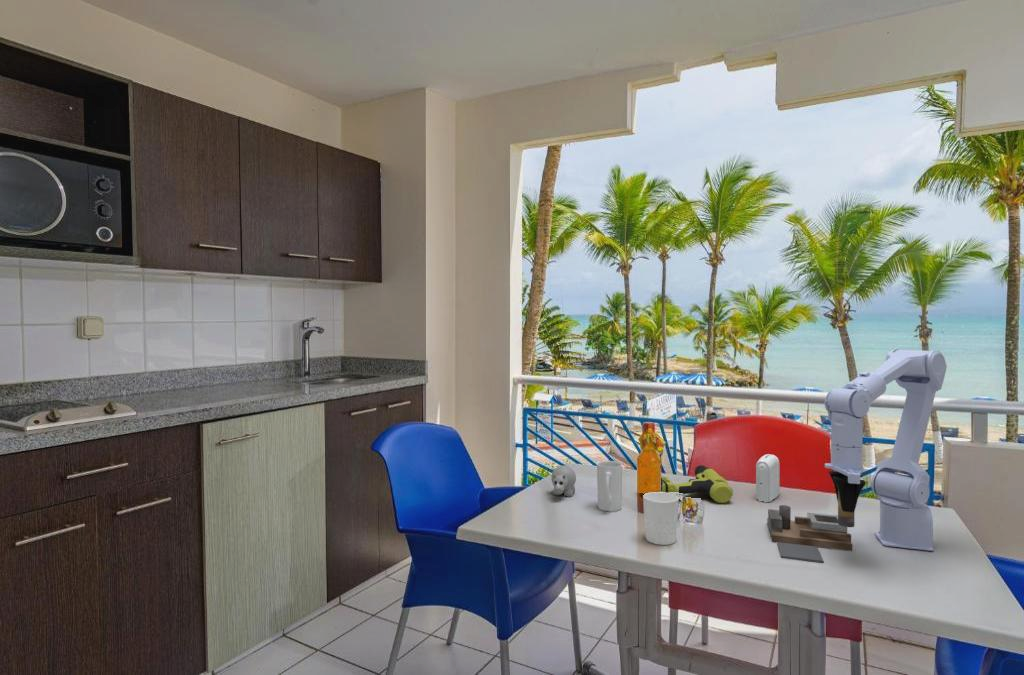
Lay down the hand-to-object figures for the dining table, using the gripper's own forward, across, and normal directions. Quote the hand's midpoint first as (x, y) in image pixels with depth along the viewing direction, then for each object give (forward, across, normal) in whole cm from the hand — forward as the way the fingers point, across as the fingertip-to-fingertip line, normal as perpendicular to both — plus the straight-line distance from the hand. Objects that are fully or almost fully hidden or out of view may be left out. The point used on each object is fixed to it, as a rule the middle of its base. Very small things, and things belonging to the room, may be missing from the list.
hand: (846, 508), depth 118 cm
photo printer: (+11, -39, -12) cm, 42 cm away
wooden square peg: (+3, 0, 0) cm, 3 cm away
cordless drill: (+11, -37, -36) cm, 53 cm away
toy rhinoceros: (+10, -21, -68) cm, 72 cm away
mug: (+10, -14, -53) cm, 56 cm away
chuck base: (+10, -10, -6) cm, 16 cm away
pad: (+10, +1, -9) cm, 14 cm away
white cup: (+10, +3, -38) cm, 40 cm away
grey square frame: (+9, -10, -2) cm, 13 cm away
